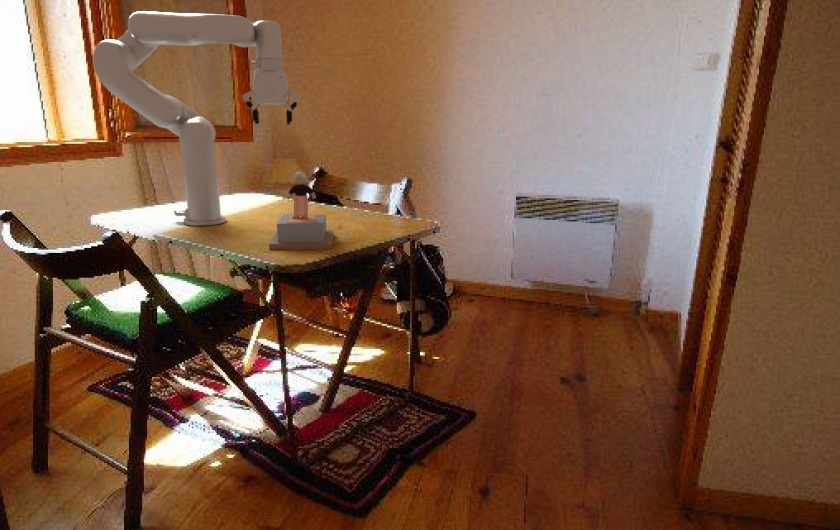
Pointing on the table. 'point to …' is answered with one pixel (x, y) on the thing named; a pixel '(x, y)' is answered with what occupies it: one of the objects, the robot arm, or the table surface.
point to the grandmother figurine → (300, 196)
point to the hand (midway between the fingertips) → (273, 124)
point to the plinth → (303, 244)
